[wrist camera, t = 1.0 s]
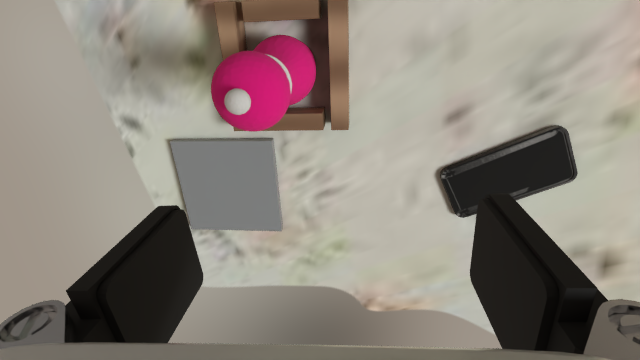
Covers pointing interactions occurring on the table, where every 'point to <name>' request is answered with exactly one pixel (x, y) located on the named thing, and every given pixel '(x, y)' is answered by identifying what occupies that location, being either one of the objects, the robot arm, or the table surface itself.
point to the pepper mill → (263, 82)
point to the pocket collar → (295, 4)
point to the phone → (511, 170)
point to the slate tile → (229, 183)
